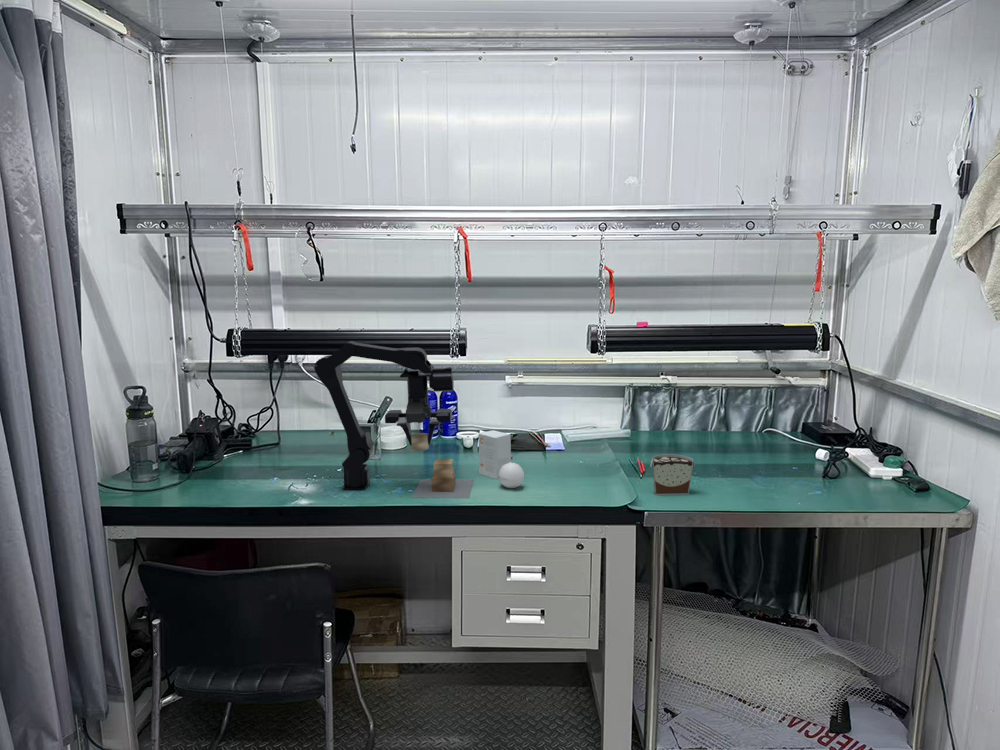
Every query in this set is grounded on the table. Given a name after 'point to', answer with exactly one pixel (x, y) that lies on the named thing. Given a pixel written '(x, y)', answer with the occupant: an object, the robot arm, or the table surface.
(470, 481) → the coaster
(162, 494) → the table surface
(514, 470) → the white sphere
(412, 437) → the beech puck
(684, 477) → the food container
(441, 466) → the tower top
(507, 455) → the small box
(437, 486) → the tower base
